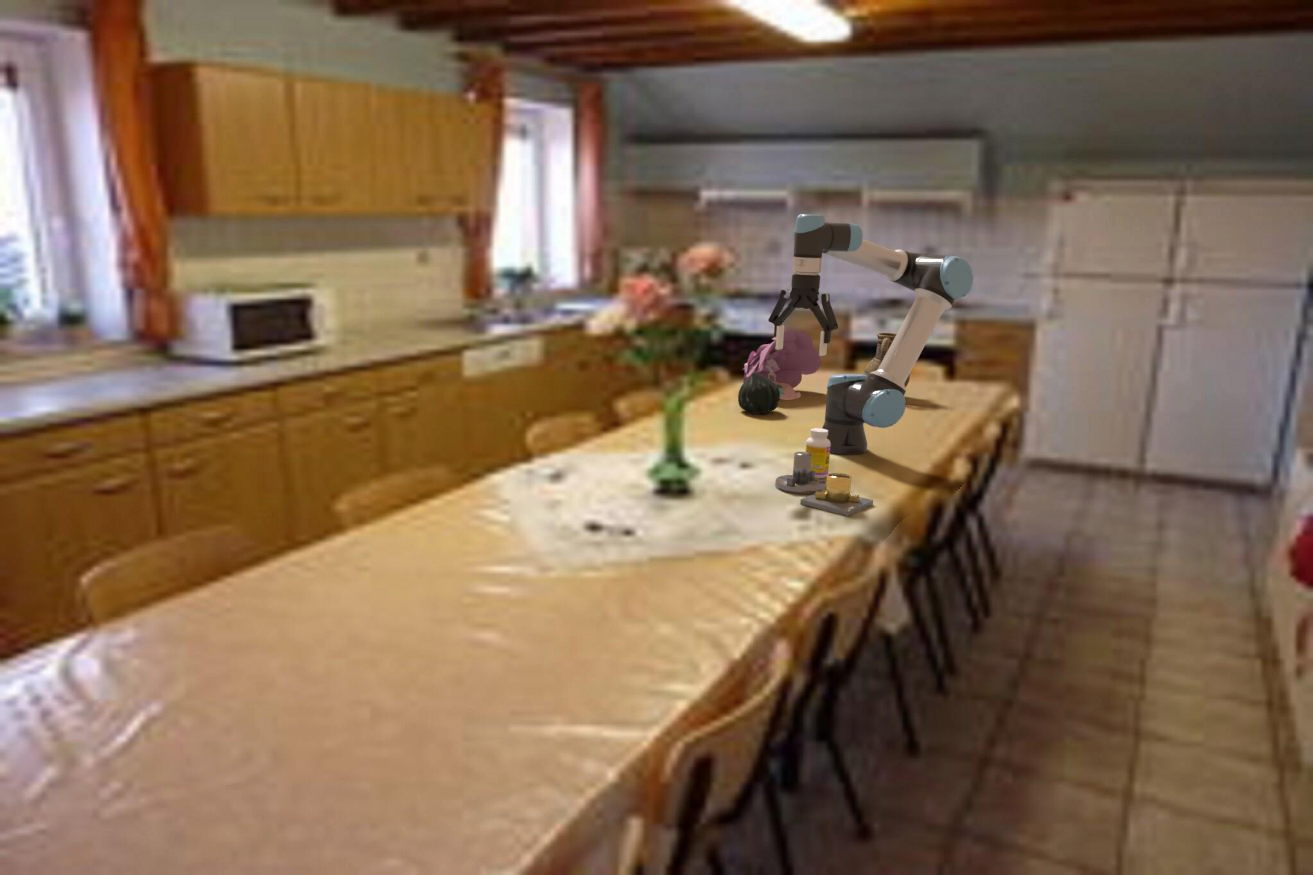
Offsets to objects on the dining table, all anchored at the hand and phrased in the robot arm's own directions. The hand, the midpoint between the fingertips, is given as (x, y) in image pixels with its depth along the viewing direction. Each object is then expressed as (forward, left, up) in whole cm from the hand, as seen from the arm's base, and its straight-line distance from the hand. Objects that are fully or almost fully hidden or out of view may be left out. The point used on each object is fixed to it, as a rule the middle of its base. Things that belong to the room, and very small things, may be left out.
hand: (800, 352), depth 258 cm
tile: (+22, +26, -33) cm, 47 cm away
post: (+16, +12, -33) cm, 38 cm away
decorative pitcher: (-120, -31, -33) cm, 128 cm away
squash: (-55, -48, -33) cm, 80 cm away
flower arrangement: (-89, -61, -33) cm, 113 cm away
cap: (+22, +26, -31) cm, 46 cm away
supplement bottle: (+3, +9, -33) cm, 34 cm away
